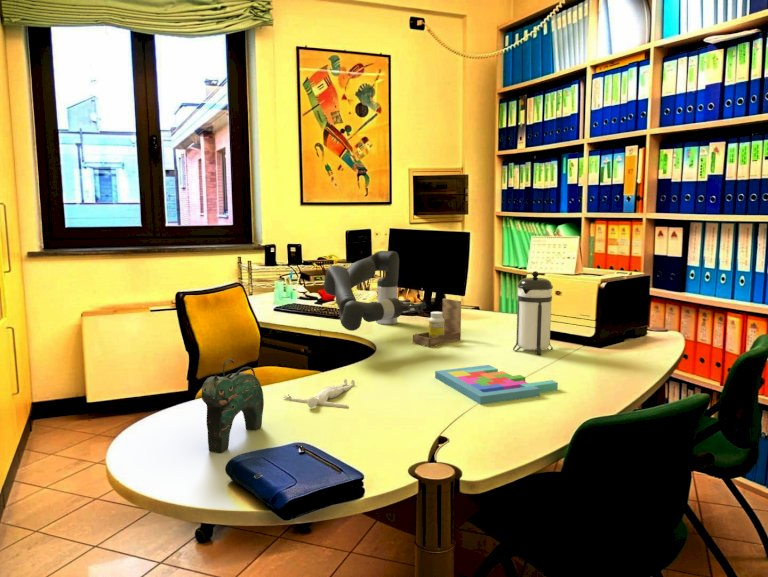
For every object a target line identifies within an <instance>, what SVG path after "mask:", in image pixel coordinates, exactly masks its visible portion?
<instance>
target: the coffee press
mask: <svg viewBox="0 0 768 577" xmlns="http://www.w3.org/2000/svg"><path fill="white" fill-rule="evenodd" d="M531 276H532V277H526V278H525V277H524V278H522V279H520V280H519V282H518V284H517V285H516V288H517V304H516V305H517V306H516V308H517V311H516V338H515V339H516V340H515V341H516V342H515V345H514V346H513V347H512V348H513V349H512V350H513V351H514V352H518V351H519V350H520V349H523V350H529V351H535V353H536V356H542V351H544V350H548V351H550V350H552V351H553V349H554V347H553V346H552V345H551V321H552V320H551V318H552V301H553V295H552V290H553V288H554V285H552V282H551V281H550V280H549V279H547V278H544V277H538V276H539V272H538V271H536V270H535V271H533V272H532V274H531ZM516 347H517V349H516ZM549 347H551V348H550V349H549Z"/></svg>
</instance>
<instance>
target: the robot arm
mask: <svg viewBox="0 0 768 577" xmlns="http://www.w3.org/2000/svg"><path fill="white" fill-rule="evenodd" d="M399 270H400V257H399V254H398V252H397V251H394V250H379V251H377V252H375V253H373V254H372V255H370V256H368V257H365V258H362V259H360V260H357V261H355V262H353V263H352V264H351V265H349V267H348V268H346V267H344V266H341V265H331V266H329V267H328V268H327V269H326V273H325V277H324V283H323V290H324V292H325V293H326V294H327V295H328V296H333V297H335V302H336V305H337V307H338V309H339V319H340V324H341V327H343V329H345V330H347V331H356V330H358V329H359V328H360V327H361V325H362V320H364V321H365V322H367V323H371V322H376V323H377V324H380V325H396V324H398V318H399V317H400V316H401V315H402V314H403V313H410V314H412V313H417V312H422V311H423V309H424V310H425V309H426V308H427V303H426V302H418V303H417V302H416V303H414V302H413V301H412V302H411V300H410V299H404V300H402V299H400V300H399V299H398V282H399V272H400V271H399ZM379 271H380V272H387V274H386V276H384V277H382V278H379V279H378V280H377V282H376V283H377V284H376V285H377V286H376V287H377V290H376V291H377V292H376V293H377V296H376V297H377V300H376V301H371V302H363V301H358V300H357V299H356V297H355V295H354V293H353V292H354V291H353V288H355V287H357V286H358V285H360V284H362V283H365V282H368V281H369V280H371V279H372V278H373V277H374V276H375V274H376V272H379Z"/></svg>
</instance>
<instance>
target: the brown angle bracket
mask: <svg viewBox="0 0 768 577" xmlns="http://www.w3.org/2000/svg"><path fill="white" fill-rule="evenodd" d="M442 313H443V316H442V318H444V321H445V323H444V335H443V336H438V337H433V338H429V331H426V332H421V333H417V334H416V333H415V334H413V335H412V344H414V343H415V345H418V344H419V345H420V346H423V345H424V346H423V347H427V346H428V348H432V347H436V345H437V346H441V345H445V343H446V344H450V343H454V341H455V342H460V341H461V340H462V339H461V336H462V335H461V334H462V331H461V330H462V329H461V327H462V323H461V322H462V300H457V299H456V300H455V299H451V298H442ZM431 346H432V347H431Z"/></svg>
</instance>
